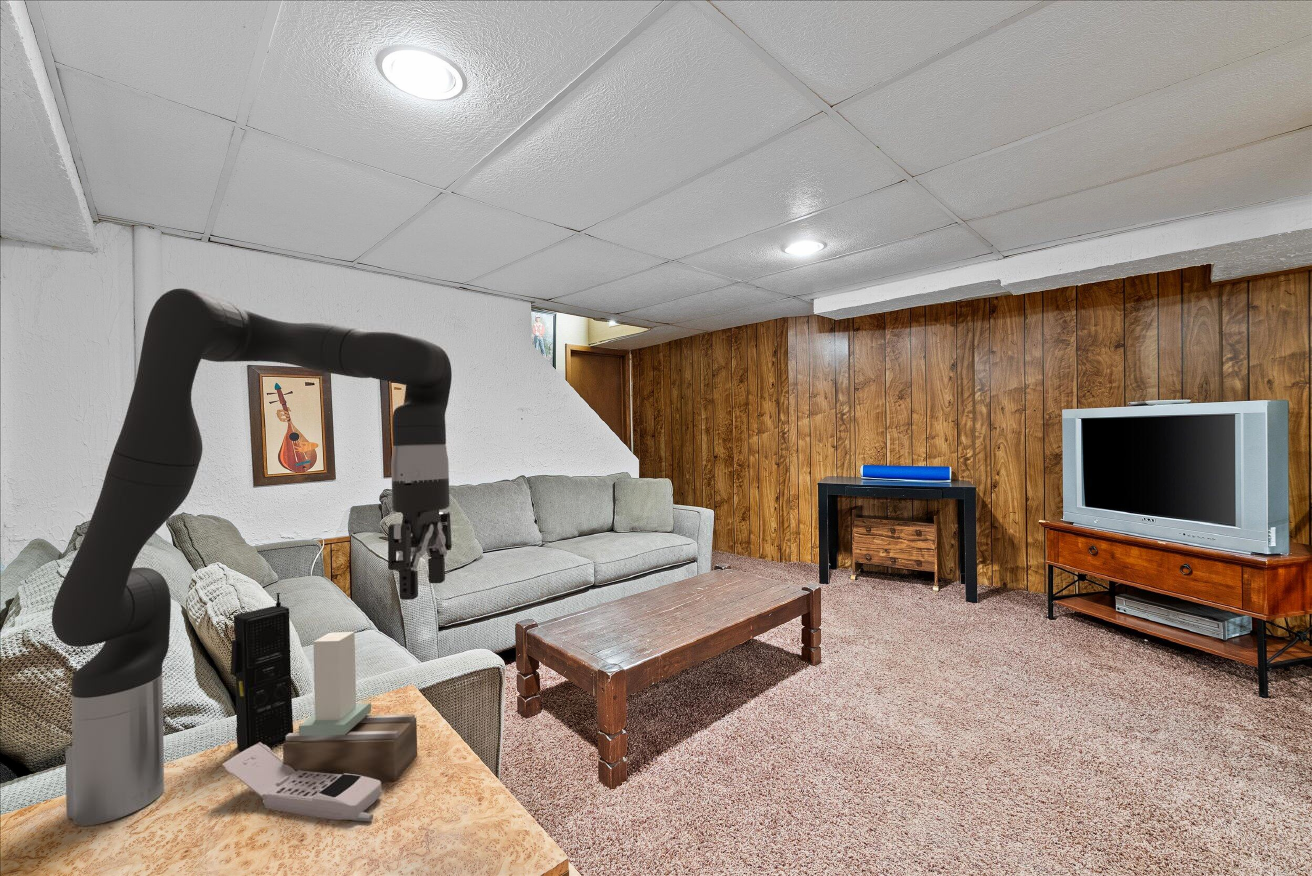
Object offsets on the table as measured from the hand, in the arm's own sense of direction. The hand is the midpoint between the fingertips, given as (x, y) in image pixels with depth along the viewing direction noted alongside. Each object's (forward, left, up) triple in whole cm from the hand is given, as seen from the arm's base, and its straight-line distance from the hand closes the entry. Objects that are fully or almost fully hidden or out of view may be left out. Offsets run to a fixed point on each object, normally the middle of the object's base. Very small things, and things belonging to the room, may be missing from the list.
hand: (423, 590), depth 76 cm
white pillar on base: (-18, +7, -22) cm, 30 cm away
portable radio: (-36, +15, -30) cm, 49 cm away
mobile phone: (-17, 0, -30) cm, 35 cm away
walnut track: (-15, +7, -29) cm, 34 cm away
